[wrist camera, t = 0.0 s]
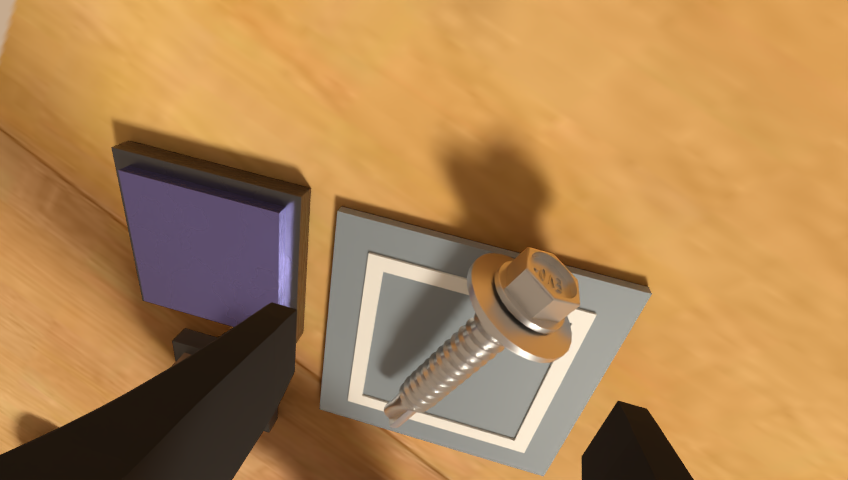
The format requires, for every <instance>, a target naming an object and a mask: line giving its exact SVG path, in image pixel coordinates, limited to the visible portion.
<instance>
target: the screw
mask: <svg viewBox="0 0 848 480" xmlns="http://www.w3.org/2000/svg"><path fill="white" fill-rule="evenodd" d="M467 289H468V292H469V296H470V300H471V303H472V306H473V308H474V310H475V312H476V313H475V315H474V318H470V319H468V320H467V322H466V325H463V326H461V327H460V328H459V330H458V332H455V333H454V334H453V335H452V336H451V339H448V340H446V341H445V342H444V345H442V346H440V347H439V348H438V349H437V351H436V352H434V353H432V354H431V356H430V358H427V359H426V360H425V361H424V363H423V364H421V365H420V366H419V367H418V368H417V369H416V370H414V371H413V372H412V374H411V375H410V376H408V377H407V378H406V380H405V382H404V383H403V384H402V385H401V386H400V389H399V393H398V394H397V395H396V396H395V397H394V398H393V399H392V400H391V401H389V402H388V403H387V404H386V405H385V407H384V413H385V415H386V416H387V417H388V418H389V427H392V428H397V427H399V426H401V425H402V424H403V423H404V422H406V421H407V420H408V419H409V418H410V417H412V416H413V415H414V414H415V413H416V412H417V413H422V412H425V411H427V410H428V409H429V408H431V407H433V406H435V405H436V404H437V402H439V401H441V400H442V399H443V398H444V397H445V396H447V395H448V394H449V393H450V392H451V391H453V390H454V389H456V388H457V386H458V385H460V384H462V383H463V382H464V381H465V379H468V378H469V377H470V376H471V375H472V374H473V373H475V372H477V371H478V370H479V369H480V367H482V366H484V365H485V364H486V363H487V362H488V360H491V359H493V358H494V357H495V356H496V354H497V353H500V352H501V351H503V350H504V348H507V349H508V350H510V351H512V352H513V353H515V354H517V355H519V356H522V357H524V358H526V359H528V360H531V361H535V362H539V363H551V362H553V361H556V360H558V359H559V358H561V357H562V356H564V355H565V354H566V353H567V352H568V351H569V348H570V345H571V342H572V332H571V326H570V322H569V319H568V317H567V315H569V314H570V313H571V312H573V311H574V310H575V309H577V308H578V307H579V306H580V296H579V285H578V280H577V279H576V278H575V277H574V275H573V274H572V273H571V272H570V271H569V270H568V269H567V268H566V267H565V266H564V265H563V263H562V262H561V261H560V260H559V259H558V258H557V257H556V256H555V255H554V254H552V253H549V252H545V251H542V250H538V249H534V248H531V247H527V248H526V249H525V250H524V251H523V252H522V253H520V254H519V255H518V256H517V257H516V258H515V259H513V258H511V257H509V256H506V255H502V254H497V253H489V254H484V255H482V256H480V257H479V258H477V259H476V260H475V261H474V263H473V264H472V265H471V267H470V268H469V270H468V274H467Z"/></svg>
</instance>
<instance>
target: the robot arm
mask: <svg viewBox="0 0 848 480" xmlns="http://www.w3.org/2000/svg"><path fill="white" fill-rule="evenodd" d="M296 327H297V309H294V308H290V307H287V306H283V305H280V304H276V303H273V302H271V303H270V304H268V305H266V306H265V307H263V308H261V309H260V310H258V311H257V312H256V313H254V314H253V315H251V316H250V317H248V318H247V319H245V320H244V321H242V322H241V323H239V324H238V325H236V326H235V327H233V328H232V329H230V330H229V331H227V332H226V333H224V334H223V335H221V336H220V337H218V338H217V339H215V340H214V341H212V342H210V343H209V344H207V345H206V346H204V347H203V348H201V349H199V350H198V351H196V352H195V353H193V354H192V355H190V356H188V357H187V358H185V359H184V360H182V361H180V362H179V363H177V364H176V365H174V366H172V367H171V368H169V369H167V370H165V371H164V372H162V373H160V374H159V375H157V376H155V377H153V378H152V379H150V380H148V381H146V382H145V383H143V384H141V385H140V386H138V387H136V388H134V389H133V390H131V391H129V392H127V393H126V394H124V395H122V396H120V397H118V398H116V399H115V400H113V401H111V402H109V403H107V404H105V405H103V406H101V407H100V408H98V409H96V410H94V411H92V412H90V413H88V414H86V415H84V416H82V417H80V418H78V419H76V420H74V421H72V422H70V423H68V424H66V425H64V426H62V427H60V428H58V429H56V430H54V431H51V432H49V433H47V434H45V435H43V436H41V437H38V438H36V439H34V440H32V441H30V442H28V443H25V444H23V445H21V446H19V447H17V448H15V449H12V450H10V451H8V452H6V453H3V454H1V455H0V480H232V479H233V478H234V476H235V475H236V473H237V471H238V470H239V468H240V467H241V465H242V464H243V462H244V460H245V459H246V457H247V456H248V454H249V453H250V451H251V450H252V448H253V446H254V445H255V443H256V442H257V440H258V438H259V437H260V435H261V434H262V432H263V431H264V429H265V427H266V426H267V424H268V423H269V421H270V419H271V418H272V416H273V415H274V413H275V411H276V409H277V407H278V405H279V403H280V401H281V399H282V397H283V395H284V393H285V391H286V389H287V387H288V385H289V382H290V380H291V378H292V376H293V374H294V372H295V351H296ZM582 480H694V479H693V478H692V476H691V475H690V473H689V472H688V470H687V469H686V467H685V466H684V464H683V463H682V461H681V460H680V458H679V457H678V455H677V453H676V452H675V450H674V449H673V447H672V446H671V444H670V443H669V441H668V440H667V438H666V437H665V435H664V433H663V432H662V430H661V429H660V427H659V426H658V424H657V423H656V421H655V420H654V418H653V417H652V415H651V414H650V413H649V411H648V410H647V409H646V408H642V407H639V406H635V405H632V404H628V403H625V402H621V401H618V402H617V403H616V405H615V406H614V408H613V409H612V411H611V412H610V414H609V415H608V417H607V418H606V420H605V422H604V423H603V425H602V426H601V428H600V429H599V431H598V432H597V434H596V435H595V437H594V438H593V440H592V441H591V443H590V445H589V446H588V448H587V449H586V451H585V452H584V454H583V455H582Z"/></svg>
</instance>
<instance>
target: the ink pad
mask: <svg viewBox="0 0 848 480" xmlns="http://www.w3.org/2000/svg"><path fill="white" fill-rule="evenodd" d="M112 152H113V157H114V162H115V167H116V172H117V177H118V182H119V186H120V191H121V196H122V201H123V206H124V211H125V216H126V221H127V226H128V231H129V236H130V240H131V245H132V250H133V255H134V260H135V265H136V270H137V275H138V280H139V285H140V290H141V294H142V299H143V301H146V302H150V303H153V304H156V305H160V306H163V307H167V308H170V309H174V310H177V311H181V312H184V313H188V314H191V315H194V316H198V317H201V318H205V319H208V320H212V321H215V322H219V323H222V324H226V325H229V326H232V327H235V326H236V325H238V324H239V323H241V322H242V321H244V320H245V319H247V318H248V317H250V316H251V315H253V314H254V313H256V312H257V311H258V310H260V309H261V308H263V307H265V306H266V305H268V304H270V303H271V302H273V303H276V304H280V305H283V306H287V307H290V308H294V309H297V327H296V343H297V341H298V340H299V338H300V337H301V335H302V334H303V329H304V310H305V291H306V272H307V253H308V234H309V214H310V195H311V188H308V187H304V186H300V185H296V184H292V183H289V182H285V181H281V180H277V179H273V178H269V177H266V176H262V175H258V174H254V173H250V172H246V171H243V170H239V169H235V168H231V167H227V166H223V165H220V164H216V163H212V162H208V161H204V160H201V159H197V158H193V157H189V156H185V155H181V154H178V153H174V152H170V151H166V150H162V149H158V148H155V147H151V146H147V145H143V144H139V143H135V142H132V141H127V142H124V143H122V144H119V145H116V146H114V147H112Z"/></svg>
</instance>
